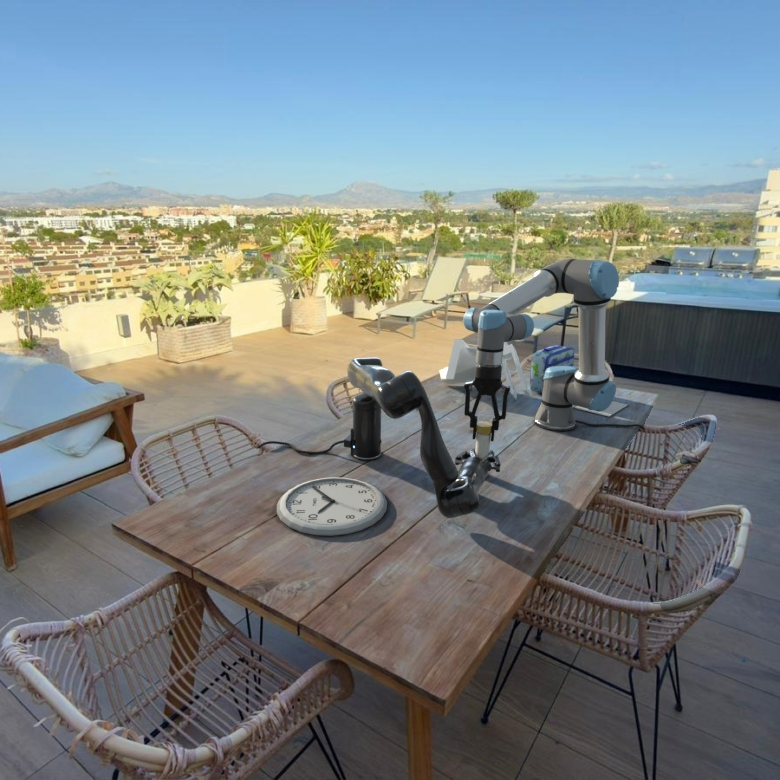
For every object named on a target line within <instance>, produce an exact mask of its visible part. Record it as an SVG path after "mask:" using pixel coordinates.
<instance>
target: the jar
mask: <svg viewBox="0 0 780 780" xmlns="http://www.w3.org/2000/svg"><path fill="white" fill-rule="evenodd" d="M490 447H491V433H490V434H480V433H477V432H476V438H475V447H474V448H475V457H479V458H483V457H484V456H485V455H486V456H488V455H489V452H490V450H491V448H490ZM488 474H489V472H488V473H487V476H486V478H487V477H488Z"/></svg>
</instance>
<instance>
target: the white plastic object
mask: <svg viewBox="0 0 780 780" xmlns="http://www.w3.org/2000/svg"><path fill="white" fill-rule="evenodd" d="M476 353H477V345H473V346H469V345H468V343H466V342H465V340H464V339H463V338H460V339H458V338H454V340H453V344H452V349H451V353H450V357H449V362H448V366H446V367H444V368H442V369H440V370H439V371H438V372H439V376H440V381H442V383H443V384H444V385H445V386H449V385H458V384H465V383H466V382H468V383H469V382H473V380H474V379H475V369H476V364H477V362H476ZM510 360H513V363H514V366H515V369H516V372H517V376H518V380H519V382H520V385H521V389H522V391H523V393H524V395H525V396H526V397H528V396H531V395H530V389H529V388H528V387H529V386H528V384H527V381H526V378H525V375H524V371H523V369H522V368H523V367H522V366H521V362H520V359H519V355H518V352H517V349H516V347H515V346H514V345H513V343H511V344H508V342H504V348H503V360H502V364H501V366H502V370H503V373H504V376H505V380H506V383H507V386H510V392H509V393H510V394H511V395H512V397H513V398H514V399H515V400H517V392H516V391H517V390H516V388H515V385H514V381H513V378H512V375H511V371H510V369H509V365H508V361H510Z"/></svg>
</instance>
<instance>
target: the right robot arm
mask: <svg viewBox="0 0 780 780" xmlns="http://www.w3.org/2000/svg"><path fill="white" fill-rule="evenodd" d="M619 285H620V275H619V272H618V268H617V267H616V266H615V265H614V264H613V262H610V261H607V260H606V261H605V260H601V259H579V258H565V259H561V260H558V261H555V262H553V263H550V264H548V265H546V266H544V267H542V268H540V269H538V270H537V271H536V272H534V274H533V276H532V277H531V278H529V279H528V280H526V281H525V282H523V283H521V284H520V285H518V286H516V287H515V288H513V289H511V290H510V291H507V292H506V293H505V294H502V295H501V296H499V297H498V298H496V299H495V300H492V301H491V302H490V303H488V304H486V305H485V306H482V307H470V308H468V309H467V310H466V311H465V313H464V315H463V319H462V320H463V321H462V322H463V326H464V328H465V329H466V330H467V331H469V332H474V334H475V333H477V344H476V346H477V353H476V362H477V364H476V369H475V379H474V380H473V382H466V383H464V385H463V387H464V391H465V398H464V399H465V400H464V411H463V413H464V416H466V417H468V418H469V428H470V429H472V440H476V434H477V432H476V423H477V422H478V415H476V414H477V410H478V407H479V405H480V403H481V399H482V396H488V397H490V399H491V405H492V410H493V417H492V422H491V424H492V433H491V437H490V442H494V440H495V432H496V431H497V432H498V430H499V428H500V421H501V420H506V418H507V408H508V407H507V406H508V398H509V397H508V396H509V393H511V392H510V386H508V385H506V384H503V381H502V372H503V371H502V370H503V367H502V360H503V348H504V342H507V343H508V342H515V341H522V340H524V339H528V338H529V337H530V336H532V334H533V333H534V330H535V323H534V320H533V318H532V317H531V316H530V315H529V314H527V313H521V312H523V311H524V310H526V309H527V308H528V307H530V306H532V305H533V304H536V302H539V301H540V300H541V299H543V298H550V297H552V296H553V295H555V294H568V295H573V304H574V305H576V306H577V307H578V311H577V312H578V368H577V367H576V366H573V367H571V366H554V367H550V368H547V369H546V371H545V375H544V378H543V379H544V382H543V391H542V393H541V402H540V405H539V407H537V408H536V413H535V416H534V424H535V425H536V426H537V427H539V428H542V429H544V430H549V431H556V432H567V431H572V430H574V429H575V428H576V423H577V424H580V425H585V426H589V427H622V428H633V427H638V428H640V429H641V430H645V431H646V428H645V427H644V426H643V425H641V424H638V423H633V424H632V423H630V424H623V423H621V424H620V423H589V422H585V421H583V420H582V421H581V420H578V419H576V418H575V417H576V416H575V413H574V407H573V405H574V406H580V407H583V408H587V409H589V410H594V411H597V412H601V411H604V410H605V409H607V408H608V407H609V405H610V404H611V402H612V401H614V398H615V396H616V392H617V384H616V383H615V382H614V381H612V380H610V373H609V371H608V370H607V369H606V367H605V366H606V316H607V315H606V314H607V313H606V311H607V305H608V304H609V303H610V302H611V301H612V298H613V297H614V296H616V293H617V292H618V288H619ZM473 387H474V388H475V390H476V391H477V395H476V397H475V401H474V403H473V407H472V410H470V408H471V407H470V406H471V393H472V392H471V391H472V389H473ZM500 389H501V392H502V393H503V395H502V404H501V413H500V410H499V404H498V398H497V393H498V392H499V391H500Z"/></svg>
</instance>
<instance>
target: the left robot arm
mask: <svg viewBox="0 0 780 780" xmlns="http://www.w3.org/2000/svg"><path fill="white" fill-rule="evenodd" d="M346 371H347V378H348V381H349V383H350V384H351V386H352V387H354V388H357V389H359V390H361V391H362V392H361V393H359V394H357V395H355V396H354V397H353V399H352V428H350V434H349V435H348V436H347V437H345V438H344V439H343V440H338V441H336V442H333V443H332V444H331V445H330V446H329V448H327V449H325V450H320V451H308V450H302V449H298V448H297V447H296V446H294V445H293V444H291V443H290V442H285V441H277V440H276V441H275V440H269V441H264V442H262V443H260V444H259V445H258V446H256V449H260V448H262V447H263V446H266V445H272V444H274V445H282V446H283V445H284V446H289V447H290V448H292V449H293V451H295V452H297V453H299V454H300V453H301V454H305V455H318V454H319V455H320V454H325V453H328V452H331V450H332V449H333V448H334V447H335V446H337V445H339V444H340V445H341V444H343V447H344V448H347V449H350V456H351V457H354V459H357V460H361V461H374V460H376V459H378V458H380V457H381V456H382V412H384V413H385V415H386V416H387V417H388V418H390V419H393V420H397V419H400V418H403V417H405V416H406V415H408V414H410V413H411V412H413V411H416V409H417V408H418V410H417V411H418V414H419V416H420V423H421V431H420V447H419V455H420V459H421V462H422V465H423V467H424V469H425V471H426V473H427V475H428V477H429V479H430V480H431V484H432V486H433V491H434V494H435V499H436V504H437V510H438V511H439V513H440V515H442V516H443V517H444V518H446V519H454V518H457V517H461V516H466V515H470V514H473V513H475V512H476V511H477V510H479V508H480V499H479V491H480V489H481V487H482V486H483V484H484V483H485V481H486V478H487V477H488V475H487V473H488V474H489V472H491V470H494V471H495V472H496V473H500V472H501V465H502V464H501V461H500V458H499V456H498V455H495V451H494V450H493V449H490V450H489V455H488V456H486V455H485V456H484V457H483V458H479V457H475V448H476V447H474V448H471V450H470V451H469V452H468V450H463V451H462V452H460V453H459V454H457V455H456V456H455V457H454V458H455V459H454V460H453V458H452V456H451V454H450V452H449V450H448V448H447V446H446V443H445V441H444V439H443V437H442V434H441V431H440V427H439V424H438V421H437V418H436V416H435V413H434V410H433V408H432V405H431V402H430V398H429V396H428V394H427V392H426V389H425V387H424V385H423V383H422V382H421V380H420V378H419V377H418V376H417V375H416V374H415V373H414V372H413V371H411V370H406V371H403V372H402V373H400V374H398V375H397V376H396V375H395V374H394V372H393V371H392V370H390V369H389V368H386V367H385V366H383V361H382V360H381V358H379V357H357V358H353V359H351V360H350V361H349V363H348V365H347V370H346ZM428 398H429V399H428ZM492 463H493V464H492ZM459 465H461V466H460V468H459V469H458V468H457V466H459ZM486 476H487V477H486ZM449 486H451V489H449V488H448V487H449Z"/></svg>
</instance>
